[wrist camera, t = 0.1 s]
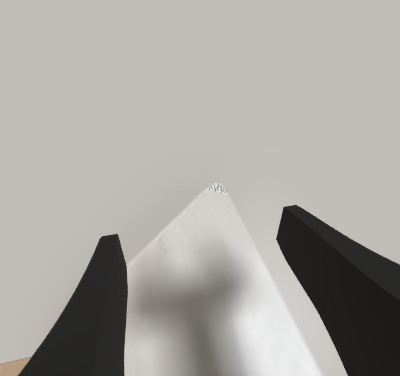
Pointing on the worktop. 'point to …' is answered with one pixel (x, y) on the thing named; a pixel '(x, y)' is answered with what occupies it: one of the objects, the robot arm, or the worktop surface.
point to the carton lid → (13, 367)
